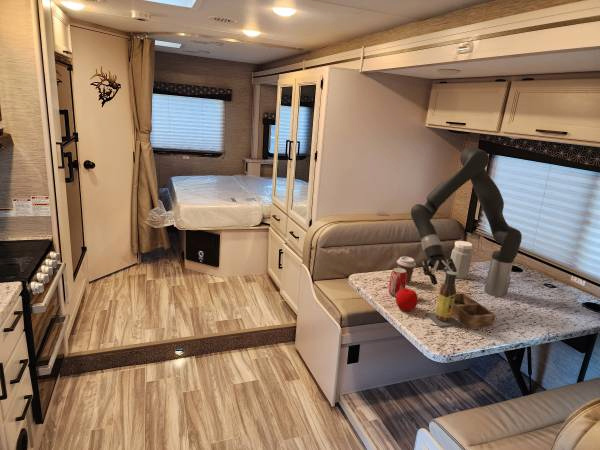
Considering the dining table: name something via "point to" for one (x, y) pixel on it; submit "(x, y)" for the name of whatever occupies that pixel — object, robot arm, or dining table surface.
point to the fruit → (406, 299)
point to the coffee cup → (407, 266)
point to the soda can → (397, 280)
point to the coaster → (443, 323)
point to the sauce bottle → (446, 297)
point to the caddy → (471, 312)
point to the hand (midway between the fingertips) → (444, 283)
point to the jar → (462, 258)
